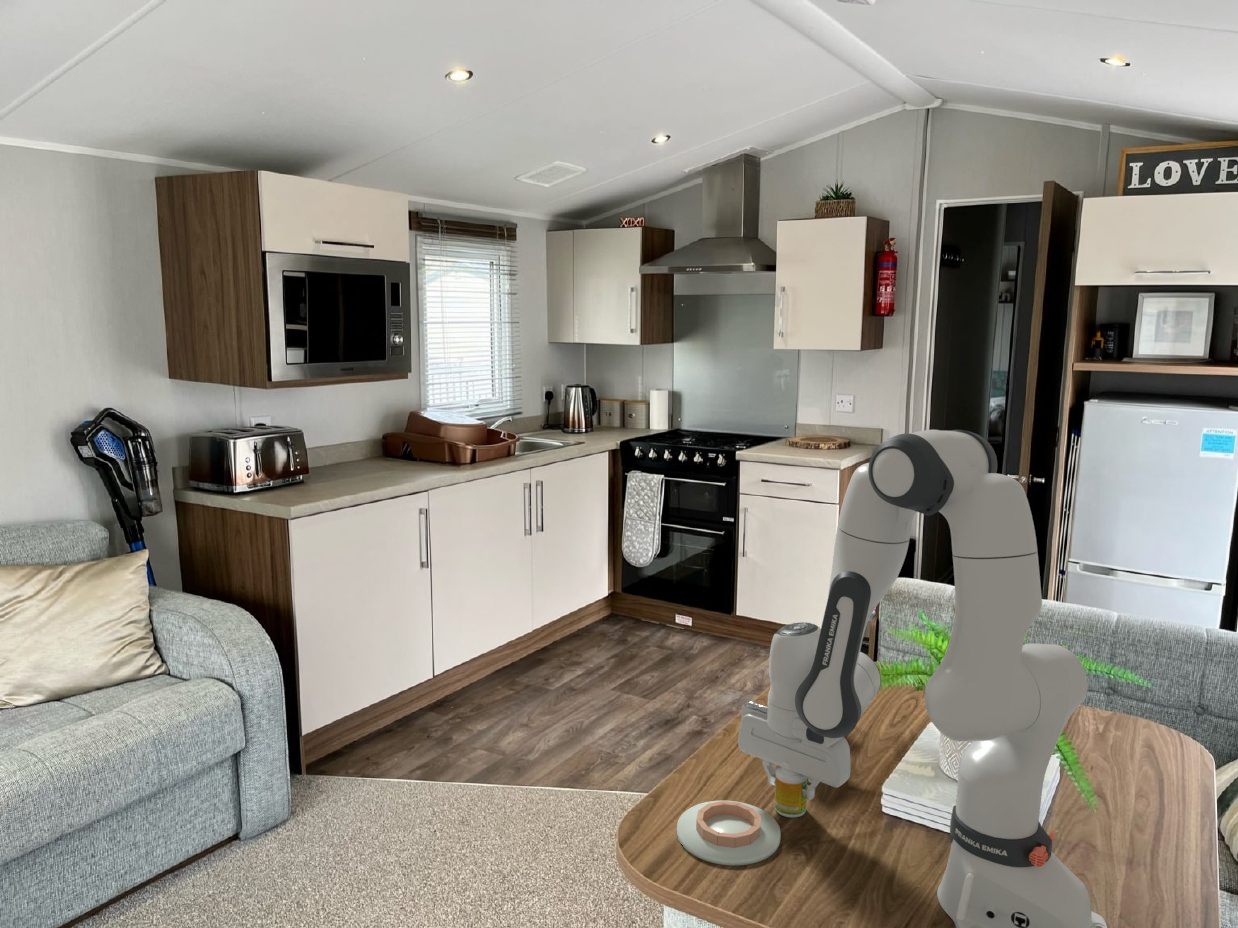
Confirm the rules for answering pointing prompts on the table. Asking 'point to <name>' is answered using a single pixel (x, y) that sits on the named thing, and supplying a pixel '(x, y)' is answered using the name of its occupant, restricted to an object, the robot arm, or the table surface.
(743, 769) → the table surface
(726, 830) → the round tray
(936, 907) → the table surface
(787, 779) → the supplement bottle
